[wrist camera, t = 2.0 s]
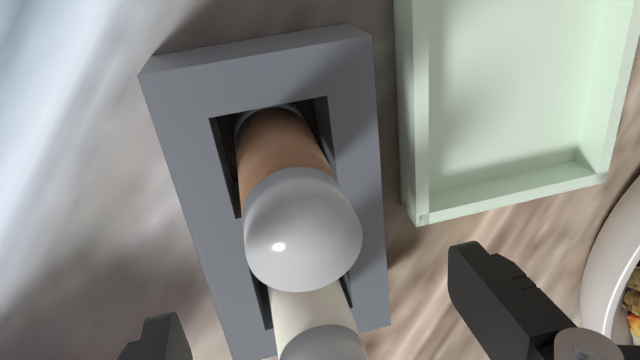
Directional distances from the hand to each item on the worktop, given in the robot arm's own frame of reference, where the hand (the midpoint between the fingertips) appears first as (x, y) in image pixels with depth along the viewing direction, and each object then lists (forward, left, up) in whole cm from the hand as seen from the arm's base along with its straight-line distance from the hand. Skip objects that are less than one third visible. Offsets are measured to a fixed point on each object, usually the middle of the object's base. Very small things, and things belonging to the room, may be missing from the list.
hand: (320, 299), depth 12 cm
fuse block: (+4, 0, -13) cm, 14 cm away
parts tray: (-1, +14, -13) cm, 19 cm away
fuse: (+8, 0, -13) cm, 15 cm away
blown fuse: (0, 0, -13) cm, 13 cm away
